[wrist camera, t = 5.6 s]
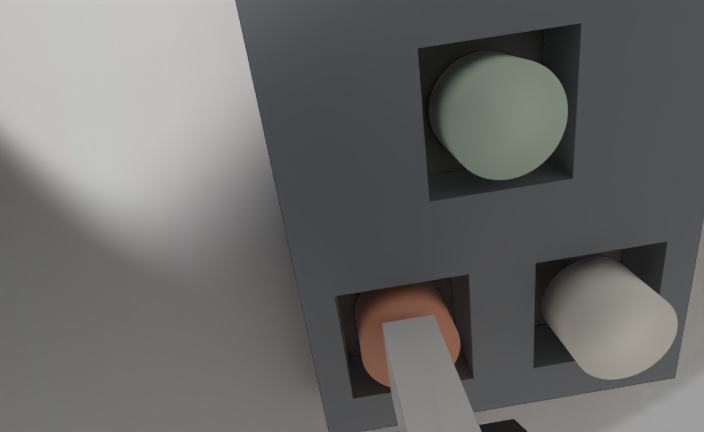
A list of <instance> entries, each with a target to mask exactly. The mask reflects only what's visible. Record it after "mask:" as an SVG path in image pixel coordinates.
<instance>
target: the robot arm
mask: <svg viewBox="0 0 704 432" xmlns="http://www.w3.org/2000/svg"><path fill="white" fill-rule="evenodd" d="M382 329H383V336H384V344H385V351H386V358H387V366H388V373H389V380H390V388H391V395H392V400H393V404H394V409H395V413H396V418H397V422H398V427H399V432H527V431H526V430H525V429H524V428H523V427H522V426H521V425H520V424H519V423H517V422H516V421H515V420H514V419H511V420H506V421H500V422H494V423H488V424H483V425H479V424H478V422H477V419H476V417H475V414H474V412H473V410H472V407H471V405H470V402H469V400H468V397H467V395H466V392H465V390H464V388H463V385H462V383H461V380H460V378H459V375H458V373H457V370H456V368H455V366H454V363H453V361H452V358H451V356H450V353H449V351H448V349H447V346H446V344H445V341H444V339H443V336H442V334H441V331H440V329H439V327H438V324H437V322H436V319H435V317H434V315H428V316H422V317H416V318H410V319H404V320H398V321H392V322H386V323H382Z"/></svg>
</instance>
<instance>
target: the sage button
mask: <svg viewBox="0 0 704 432" xmlns="http://www.w3.org/2000/svg"><path fill="white" fill-rule="evenodd" d="M567 117H568V104H567V97H566V94H565V91H564V89H563V86H562V84H561V83H560V81H559V80H558V78H557V77H556V76H555V75H554V74H553V73H552V72H551V71H550V70H549V69H548V68H546V67H545V66H543V65H541V64H539V63H536V62H534V61H530V60H527V59H523V58H519V57H515V56H511V55H507V54H503V53H499V52H494V51H480V52H475V53H471V54H468V55H466V56H464V57H462V58H460V59H458V60H456V61H455V62H454V63H452V64H451V65H450V66H449V67H448V68H447V69H446V70H445V71H444V72H443V73H442V74H441V76H440V77H439V79H438V80H437V82H436V84H435V86H434V88H433V91H432V93H431V97H430V103H429V118H430V123H431V127H432V129H433V131H434V134H435V135H436V137H437V138H438V140H439V141H440V142H441V143H442V144H443V145H444V146H445V147H446V148H447V150H448V151H449V152H450V153H451V154H452V155H453V156H454V157H455V158H456V159H457V160H458V161H459V162H460V163H461V164H462V165H463V166H464V167H465V168H466V169H467V170H469V171H470V172H472V173H473V174H475V175H478V176H480V177H483V178H486V179H492V180H507V179H513V178H517V177H520V176H522V175H525V174H527V173H529V172H531V171H532V170H534V169H536V168H537V167H538V166H540V165H541V164H542V163H543V162H544V161H545V160H547V159H548V158H549V156H550V155H551V154H552V153H553V152H554V150H555V149H556V147H557V146H558V144H559V142H560V140H561V138H562V136H563V133H564V131H565V128H566V123H567Z"/></svg>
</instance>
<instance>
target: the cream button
mask: <svg viewBox="0 0 704 432" xmlns="http://www.w3.org/2000/svg"><path fill="white" fill-rule="evenodd" d="M542 313H543V316H544V319H545V320H546V322H547V324H548V325H549V326H550V328H551V329H552V330H553V332H554V333H555V334H556V336H557V337H558V338H559V339H560V341H561V342H562V343H563V345H564V346H565V347H566V349H567V350H568V351H569V353H570V354H571V355H572V357H573V358H574V359H575V361H576V362H577V363H578V365H579V366H580V367H581V368H582V369H583V370H584V371H585V372H586V373H587V374H589V375H591V376H593V377H596V378H600V379H607V380H615V379H622V378H627V377H630V376H633V375H636V374H638V373H641V372H642V371H644V370H646V369H648V368H649V367H651V366H652V365H654V364H655V363H656V362H657V361H659V360H660V359H661V358H662V357H663V356H664V354H665V353H666V352H667V351H668V349H669V348H670V347H671V345H672V343H673V341H674V339H675V336H676V333H677V327H678V321H677V315H676V313H675V310H674V309H673V307H672V306H671V305H670V304H669V303H668V302H667V301H666V300H665V299H664V298H662V297H661V296H660V295H659V294H658V293H656V292H655V291H654V290H653V289H651V288H650V287H649V286H648V285H647V284H645V283H644V282H643V281H642V280H641V279H639V278H638V277H637V276H636V275H635V274H633V273H632V272H631V271H630V270H628V269H627V268H626V267H625V266H624V265H622V264H621V263H620V262H618V261H616V260H614V259H611V258H607V257H589V258H585V259H581V260H578V261H576V262H574V263H572V264H570V265H568V266H566V267H565V268H564V269H562V270H561V271H560V272H559V273H558V274H556V275H555V277H554V278H553V279H552V280H551V281H550V283H549V284H548V286H547V288H546V290H545V292H544V295H543V298H542Z"/></svg>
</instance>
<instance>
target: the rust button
mask: <svg viewBox="0 0 704 432" xmlns="http://www.w3.org/2000/svg"><path fill="white" fill-rule="evenodd" d="M428 315H434V317H435V319H436V322H437V324H438V327H439V329H440V331H441V334H442V336H443V339H444V341H445V344H446V346H447V349H448V351H449V353H450V356H451V358H452V361H453V363H454V364H455V362H456V360H457V358H458V355H459V352H460V337H459V333H458V331H457V329H456V327H455V324H454V322H453V320H452V318H451V316H450V314H449V311H448V309H447V307H446V305H445V303H444V301H443V298H442V296H441V294H440V292H439V290H438V288H437V287H436V286H435V285H434V283H433V282H431V281H425V282H419V283H413V284H407V285H401V286H395V287H389V288H383V289H376V290H370V291H364V292H362V293H361V294H360V296H359V298H358V301H357V303H356V308H355V317H356V323H357V330H358V336H359V343H360V349H361V356H362V361H363V364H364V367H365V369H366V370H367V372H368V373H369V374H370V376H371V377H372V378H374V379H375V380H376V381H378V382H379V383H381V384H383V385H385V386H388V387H390V380H389V373H388V366H387V358H386V351H385V344H384V336H383V329H382V323H386V322H392V321H398V320H404V319H410V318H416V317H422V316H428Z"/></svg>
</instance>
